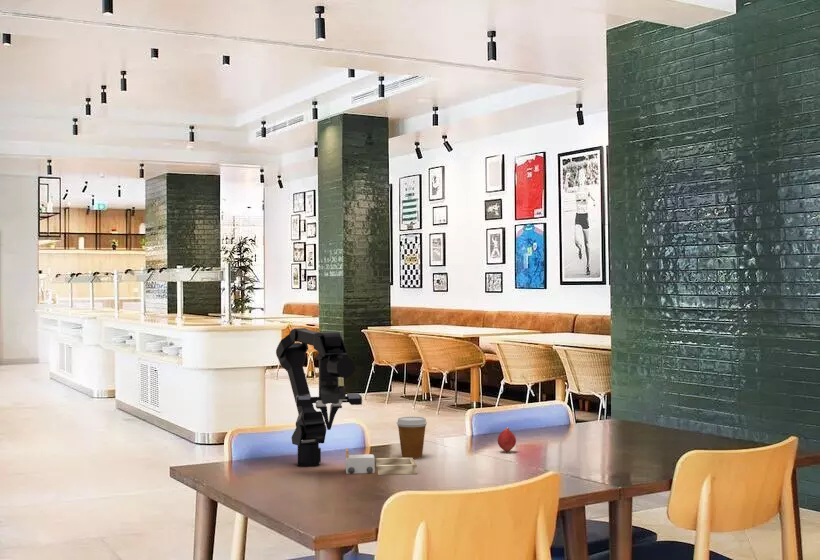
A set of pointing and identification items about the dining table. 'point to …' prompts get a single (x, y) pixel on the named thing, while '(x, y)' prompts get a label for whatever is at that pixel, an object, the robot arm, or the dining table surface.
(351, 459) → the trolley
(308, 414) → the robot arm
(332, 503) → the dining table surface
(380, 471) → the bay
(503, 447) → the onion
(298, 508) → the dining table surface
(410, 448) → the disposable coffee cup
